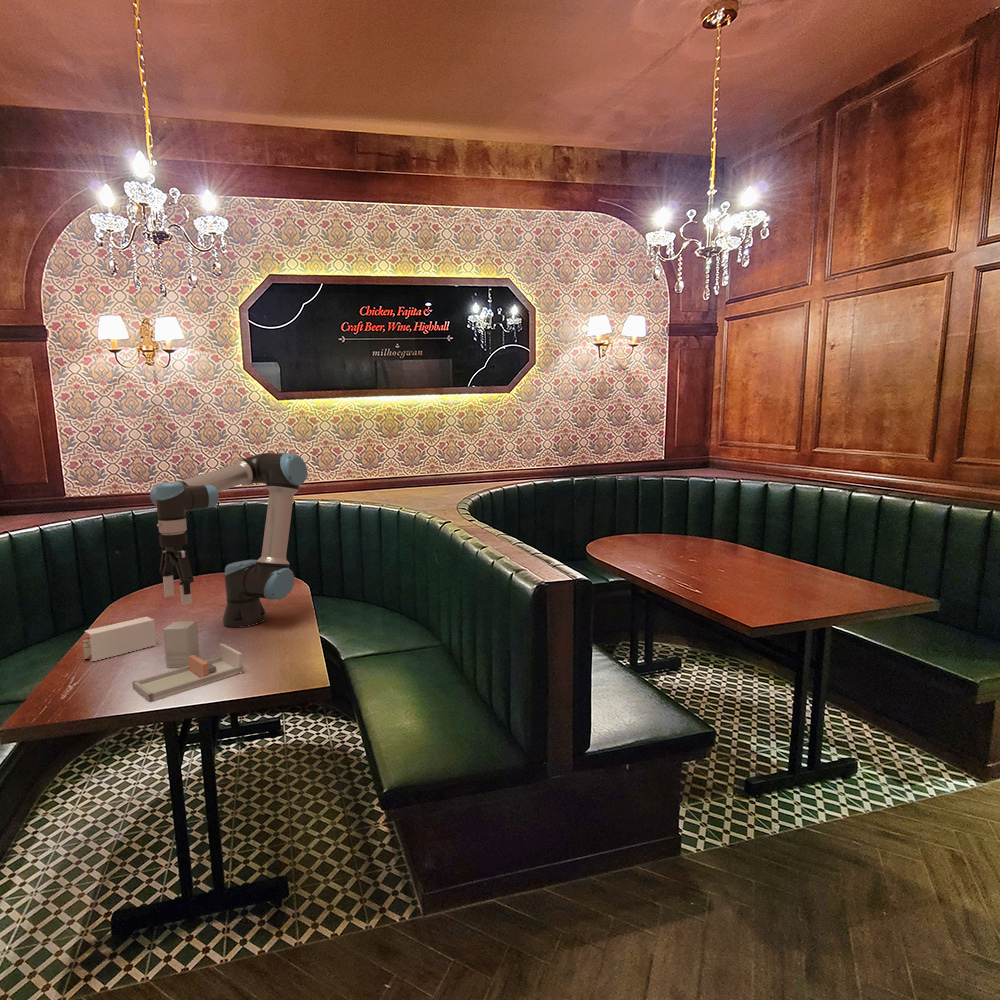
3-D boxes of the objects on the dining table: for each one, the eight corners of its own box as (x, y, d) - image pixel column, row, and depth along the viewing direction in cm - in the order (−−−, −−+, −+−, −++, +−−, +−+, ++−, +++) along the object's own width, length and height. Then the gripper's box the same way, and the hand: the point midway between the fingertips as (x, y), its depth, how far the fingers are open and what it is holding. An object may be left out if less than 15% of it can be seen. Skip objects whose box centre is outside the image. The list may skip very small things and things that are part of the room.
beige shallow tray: (223, 661, 194) (222, 643, 194) (243, 672, 186) (242, 653, 185) (132, 688, 175) (131, 668, 175) (149, 701, 167) (147, 680, 166)
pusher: (206, 665, 189) (205, 651, 188) (220, 673, 182) (219, 659, 182) (189, 670, 185) (188, 656, 185) (203, 679, 179) (202, 664, 178)
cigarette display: (149, 642, 212) (147, 616, 211) (156, 646, 209) (154, 619, 207) (82, 660, 197) (79, 631, 196) (88, 664, 193) (85, 635, 192)
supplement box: (200, 658, 197) (197, 620, 196) (189, 667, 190) (186, 628, 188) (177, 659, 197) (174, 620, 195) (165, 668, 190) (162, 628, 188)
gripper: (144, 529, 194) (150, 595, 196) (176, 539, 177) (181, 611, 180) (170, 526, 199) (174, 590, 202) (202, 535, 183) (207, 605, 185)
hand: (177, 600), depth 191 cm, fingers open, 13 cm apart
